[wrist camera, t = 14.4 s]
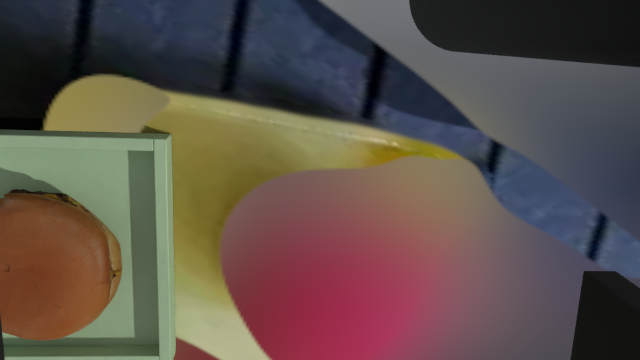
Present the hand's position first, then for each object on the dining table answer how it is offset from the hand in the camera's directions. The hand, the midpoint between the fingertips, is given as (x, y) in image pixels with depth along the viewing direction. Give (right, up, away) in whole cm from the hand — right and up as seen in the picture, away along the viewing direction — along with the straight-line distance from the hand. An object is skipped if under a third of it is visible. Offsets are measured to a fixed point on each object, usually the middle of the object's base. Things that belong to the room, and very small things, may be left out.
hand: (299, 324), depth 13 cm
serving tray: (-17, -1, +26) cm, 32 cm away
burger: (-17, -2, +26) cm, 31 cm away
